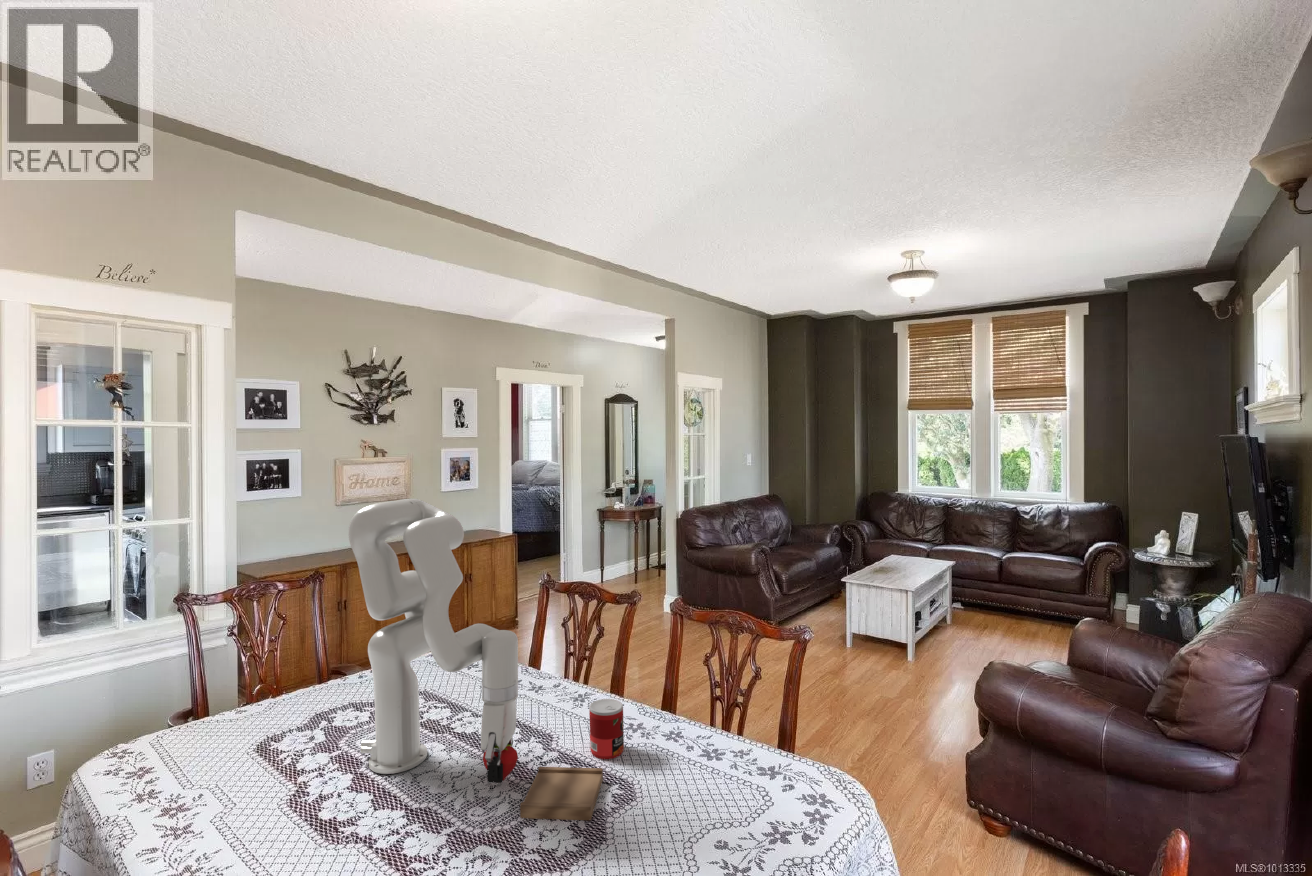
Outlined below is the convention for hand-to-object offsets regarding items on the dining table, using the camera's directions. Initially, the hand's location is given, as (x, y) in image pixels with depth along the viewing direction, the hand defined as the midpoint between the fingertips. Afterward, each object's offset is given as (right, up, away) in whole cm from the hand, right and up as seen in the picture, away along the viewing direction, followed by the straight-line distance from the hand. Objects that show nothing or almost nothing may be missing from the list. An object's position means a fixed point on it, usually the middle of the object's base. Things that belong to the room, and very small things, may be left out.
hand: (500, 772), depth 136 cm
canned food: (+22, -2, +13) cm, 26 cm away
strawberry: (0, -2, 0) cm, 2 cm away
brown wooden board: (+14, -2, -5) cm, 16 cm away
